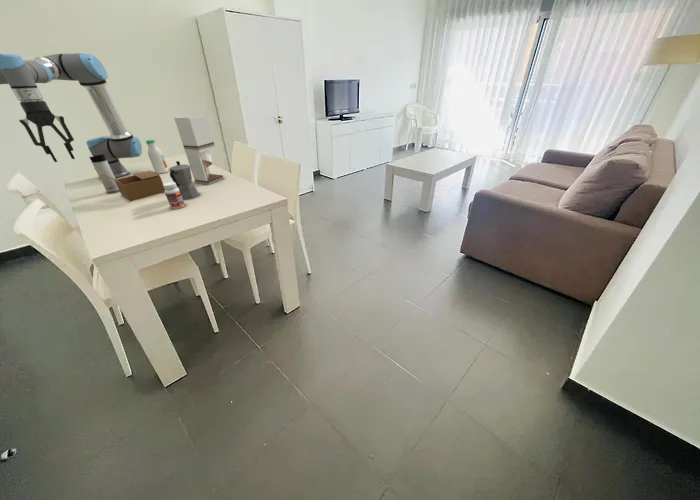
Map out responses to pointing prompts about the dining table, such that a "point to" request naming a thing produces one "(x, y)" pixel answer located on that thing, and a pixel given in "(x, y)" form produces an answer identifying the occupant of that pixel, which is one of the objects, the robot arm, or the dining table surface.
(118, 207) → the dining table surface
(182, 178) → the coffeepot
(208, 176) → the drip coffee maker
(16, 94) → the robot arm
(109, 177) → the flap
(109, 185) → the travel mug
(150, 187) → the carton
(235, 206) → the dining table surface
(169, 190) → the pill bottle
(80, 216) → the dining table surface
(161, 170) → the milk bottle
